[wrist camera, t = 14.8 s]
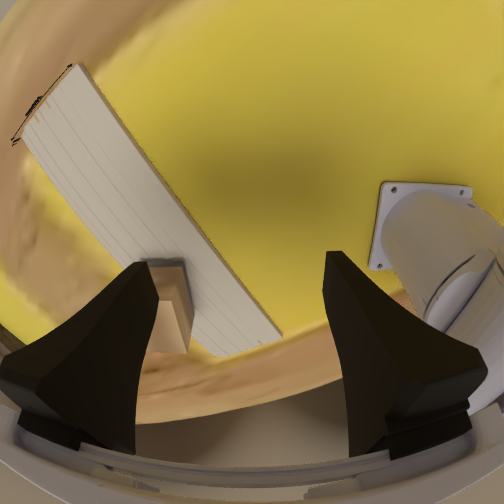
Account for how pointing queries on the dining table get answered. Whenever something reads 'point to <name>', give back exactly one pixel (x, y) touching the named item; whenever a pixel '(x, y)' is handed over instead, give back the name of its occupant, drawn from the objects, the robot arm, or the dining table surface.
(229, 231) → the dining table surface
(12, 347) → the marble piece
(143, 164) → the baseboard
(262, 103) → the dining table surface
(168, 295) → the block
